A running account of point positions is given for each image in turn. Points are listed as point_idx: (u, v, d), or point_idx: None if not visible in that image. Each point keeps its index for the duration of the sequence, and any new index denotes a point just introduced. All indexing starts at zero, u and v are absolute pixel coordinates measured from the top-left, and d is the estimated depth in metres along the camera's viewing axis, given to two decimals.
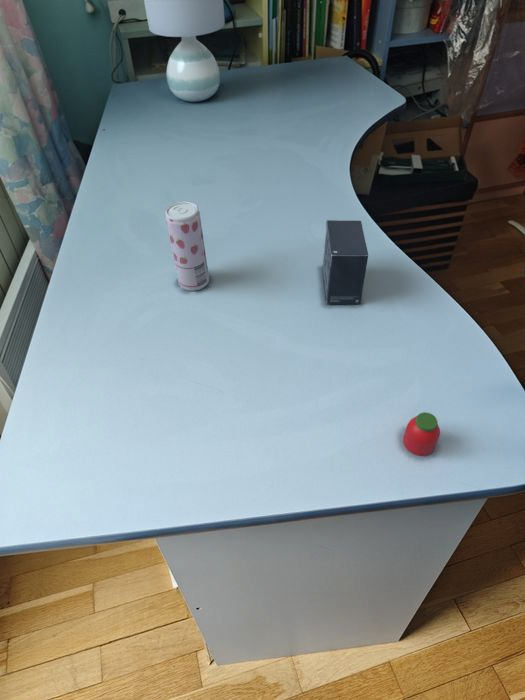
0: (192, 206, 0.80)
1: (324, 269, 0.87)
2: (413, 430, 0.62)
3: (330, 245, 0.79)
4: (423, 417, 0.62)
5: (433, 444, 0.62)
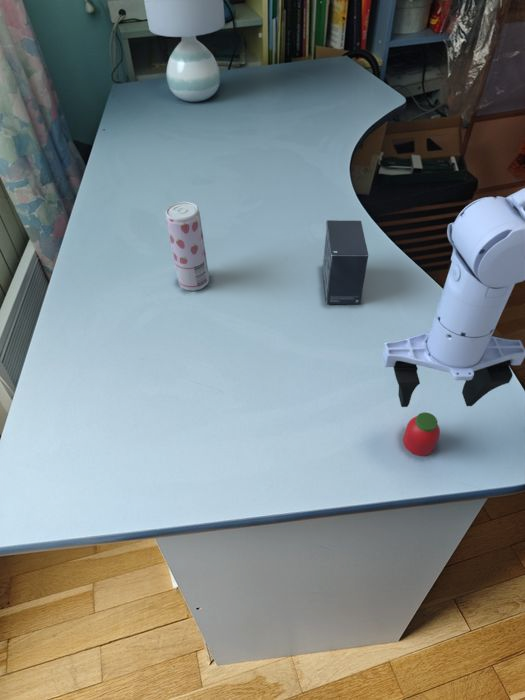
0: (192, 206, 0.80)
1: (324, 269, 0.87)
2: (413, 430, 0.62)
3: (330, 245, 0.79)
4: (423, 417, 0.62)
5: (433, 444, 0.62)
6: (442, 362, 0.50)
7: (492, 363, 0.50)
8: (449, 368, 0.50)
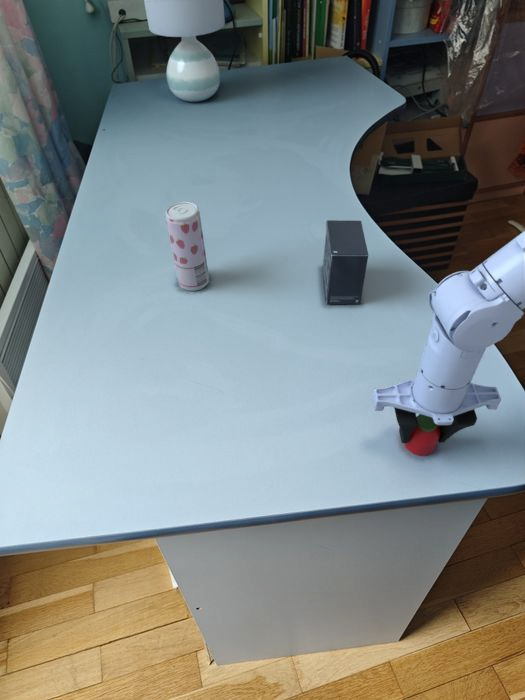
0: (192, 206, 0.80)
1: (324, 269, 0.87)
2: (414, 431, 0.62)
3: (330, 245, 0.79)
4: (423, 417, 0.62)
5: (433, 444, 0.62)
6: (425, 408, 0.56)
7: (470, 409, 0.56)
8: (431, 414, 0.56)
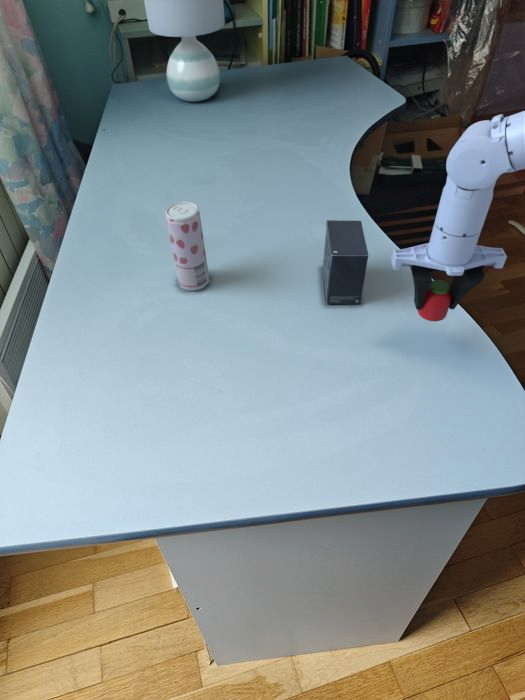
0: (192, 206, 0.80)
1: (324, 269, 0.87)
2: (427, 295, 0.69)
3: (330, 245, 0.79)
4: (436, 283, 0.69)
5: (445, 308, 0.69)
6: (439, 262, 0.63)
7: (479, 264, 0.63)
8: (444, 266, 0.63)
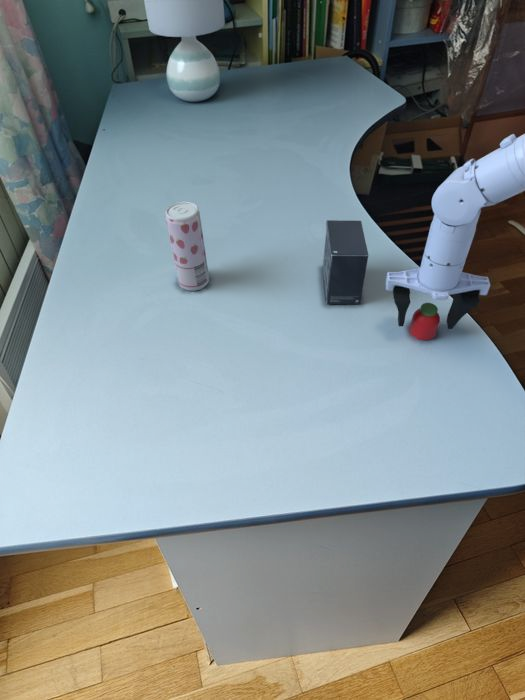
0: (192, 206, 0.80)
1: (324, 269, 0.87)
2: (417, 316, 0.76)
3: (330, 245, 0.79)
4: (426, 305, 0.76)
5: (433, 329, 0.76)
6: (427, 286, 0.70)
7: (464, 290, 0.70)
8: (431, 291, 0.70)
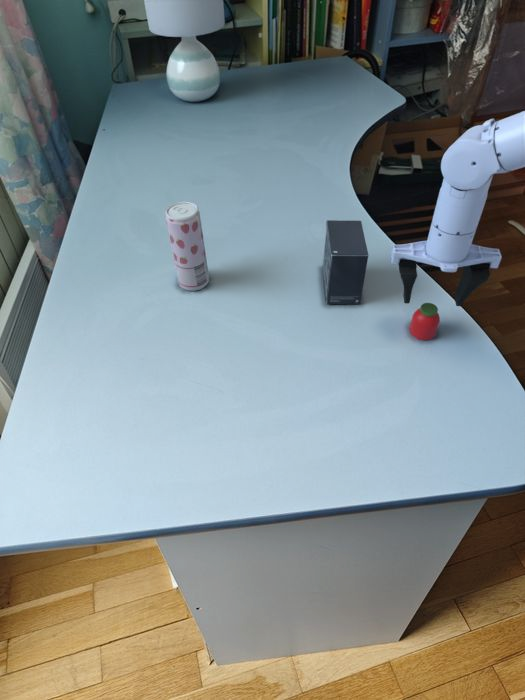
0: (192, 206, 0.80)
1: (324, 269, 0.87)
2: (417, 316, 0.76)
3: (330, 245, 0.79)
4: (426, 305, 0.76)
5: (433, 329, 0.76)
6: (434, 258, 0.66)
7: (473, 262, 0.66)
8: (439, 263, 0.66)
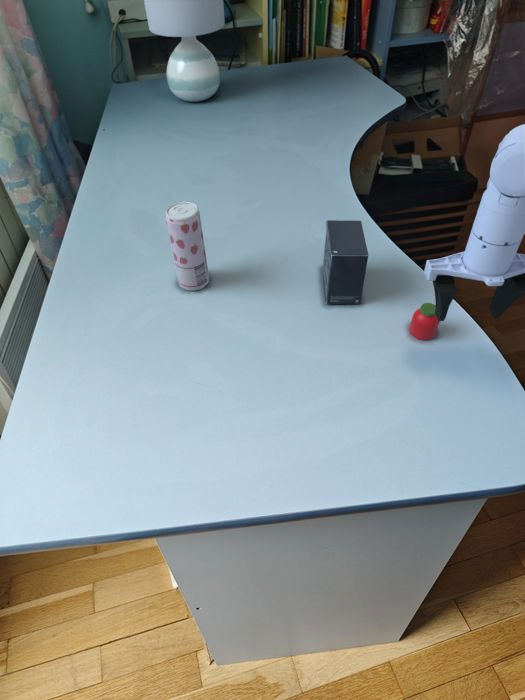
0: (192, 206, 0.80)
1: (324, 269, 0.87)
2: (417, 316, 0.76)
3: (330, 245, 0.79)
4: (426, 305, 0.76)
5: (433, 329, 0.76)
6: (477, 272, 0.60)
7: (518, 273, 0.60)
8: (483, 277, 0.60)
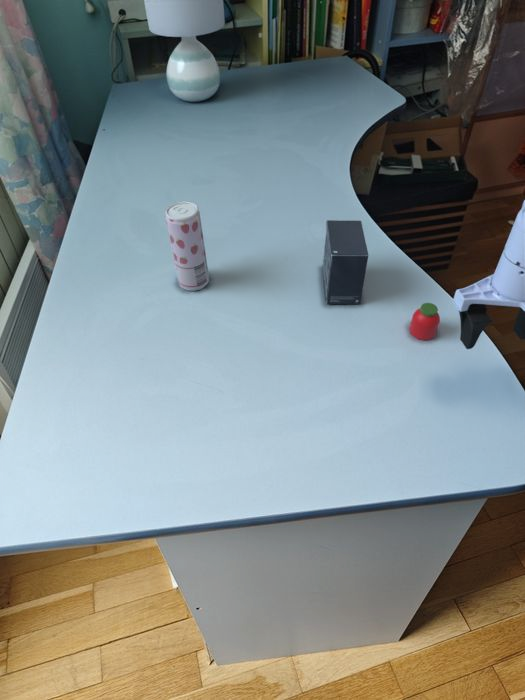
0: (192, 206, 0.80)
1: (324, 269, 0.87)
2: (417, 316, 0.76)
3: (330, 245, 0.79)
4: (426, 305, 0.76)
5: (433, 329, 0.76)
6: (512, 298, 0.56)
7: None
8: (520, 302, 0.56)
